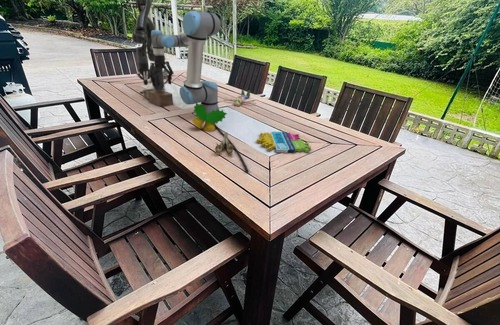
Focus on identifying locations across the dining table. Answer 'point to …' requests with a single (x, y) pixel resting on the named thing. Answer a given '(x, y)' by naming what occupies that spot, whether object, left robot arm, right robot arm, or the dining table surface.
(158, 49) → the right robot arm
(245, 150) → the dining table surface
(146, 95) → the drawer
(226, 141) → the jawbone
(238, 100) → the toy
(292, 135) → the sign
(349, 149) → the dining table surface
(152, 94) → the cabinet
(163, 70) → the airplane
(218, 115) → the ornament
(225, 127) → the dining table surface
